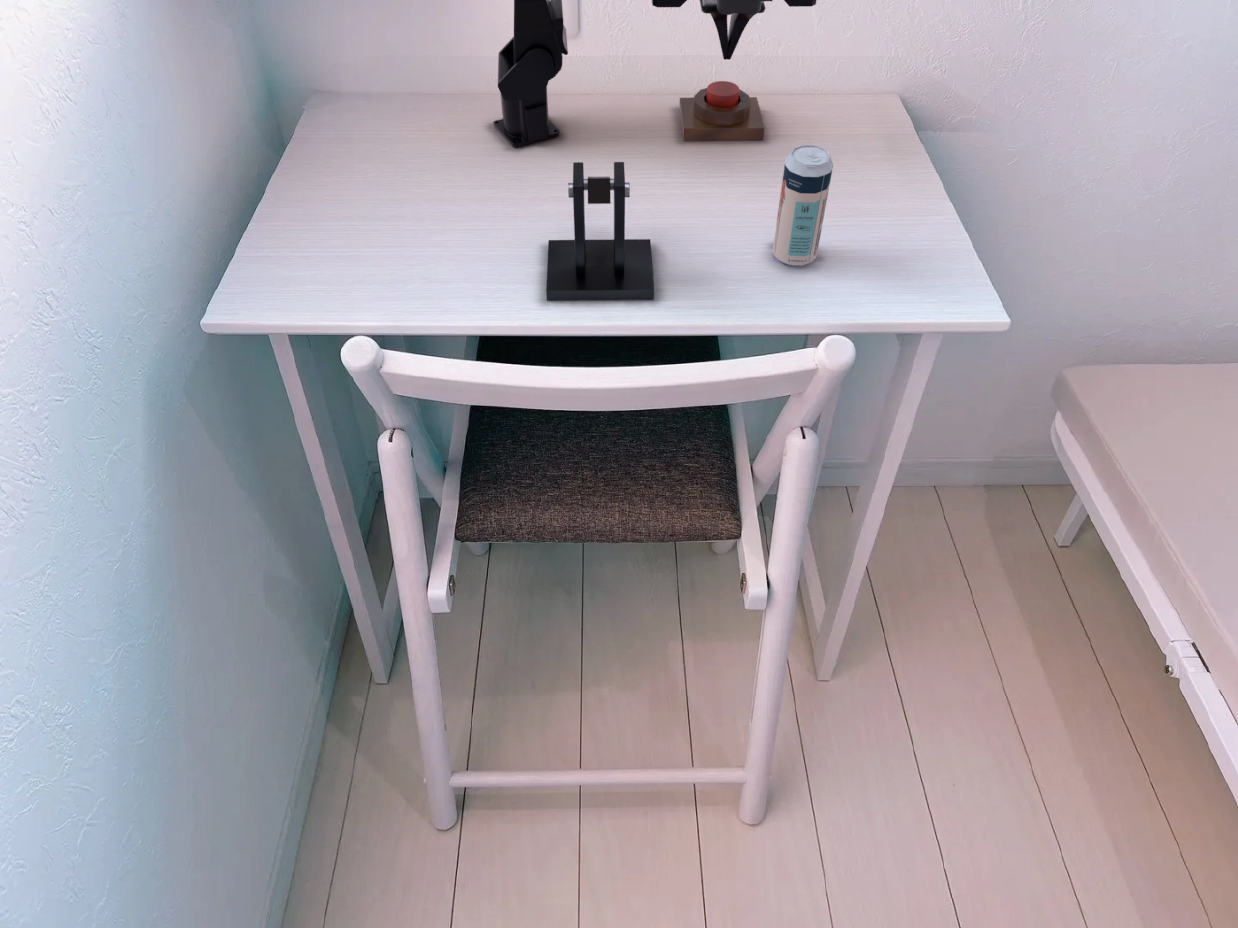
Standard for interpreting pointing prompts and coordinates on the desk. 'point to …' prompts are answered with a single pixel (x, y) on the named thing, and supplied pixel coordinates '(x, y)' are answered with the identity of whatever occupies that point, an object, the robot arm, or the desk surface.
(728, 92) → the button
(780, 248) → the beer can
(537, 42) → the robot arm
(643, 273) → the bracket
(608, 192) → the lever
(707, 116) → the button block
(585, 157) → the desk surface
